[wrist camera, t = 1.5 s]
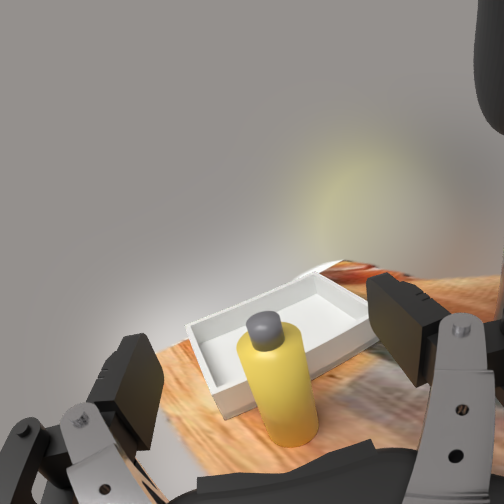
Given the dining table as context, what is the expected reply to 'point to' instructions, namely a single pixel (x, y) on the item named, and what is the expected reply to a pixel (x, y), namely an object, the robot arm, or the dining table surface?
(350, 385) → the dining table surface
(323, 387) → the dining table surface
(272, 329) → the squeeze bottle
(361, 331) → the tray
